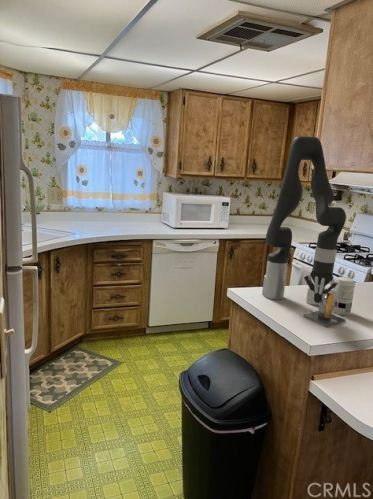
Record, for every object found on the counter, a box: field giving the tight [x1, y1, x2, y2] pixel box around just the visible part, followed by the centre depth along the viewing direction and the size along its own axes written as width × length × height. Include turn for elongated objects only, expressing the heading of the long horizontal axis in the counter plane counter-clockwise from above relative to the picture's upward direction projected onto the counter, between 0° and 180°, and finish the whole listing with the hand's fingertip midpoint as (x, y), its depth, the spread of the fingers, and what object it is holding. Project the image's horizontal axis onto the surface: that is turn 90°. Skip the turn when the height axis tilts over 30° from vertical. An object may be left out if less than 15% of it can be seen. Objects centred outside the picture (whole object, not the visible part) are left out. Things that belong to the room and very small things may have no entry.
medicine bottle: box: [306, 279, 328, 307], centre depth 186 cm, size 7×7×12 cm
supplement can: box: [332, 276, 356, 316], centre depth 175 cm, size 8×8×15 cm
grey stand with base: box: [302, 302, 347, 328], centre depth 166 cm, size 12×12×8 cm
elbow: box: [321, 289, 336, 318], centre depth 162 cm, size 14×6×9 cm, turn 166°
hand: (317, 302), depth 158 cm, fingers closed
